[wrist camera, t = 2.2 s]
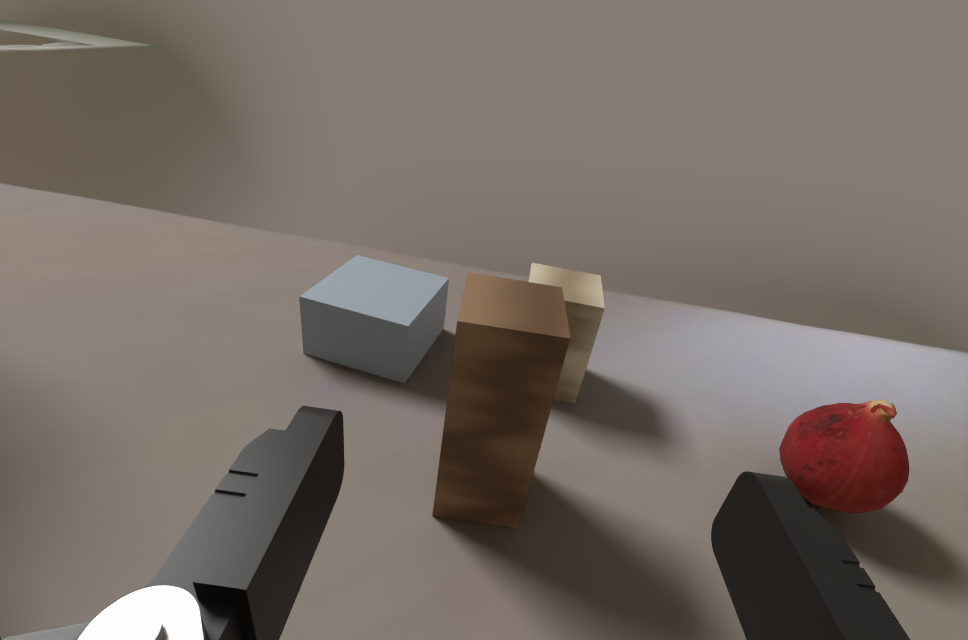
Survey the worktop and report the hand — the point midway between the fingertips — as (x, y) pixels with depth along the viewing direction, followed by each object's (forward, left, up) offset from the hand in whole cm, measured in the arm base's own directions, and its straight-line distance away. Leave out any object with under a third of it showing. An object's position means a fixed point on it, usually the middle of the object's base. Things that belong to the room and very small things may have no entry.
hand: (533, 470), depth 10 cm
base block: (-15, +21, -15) cm, 30 cm away
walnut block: (-3, +11, -14) cm, 18 cm away
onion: (+16, +19, -15) cm, 29 cm away
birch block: (-2, +23, -14) cm, 27 cm away
